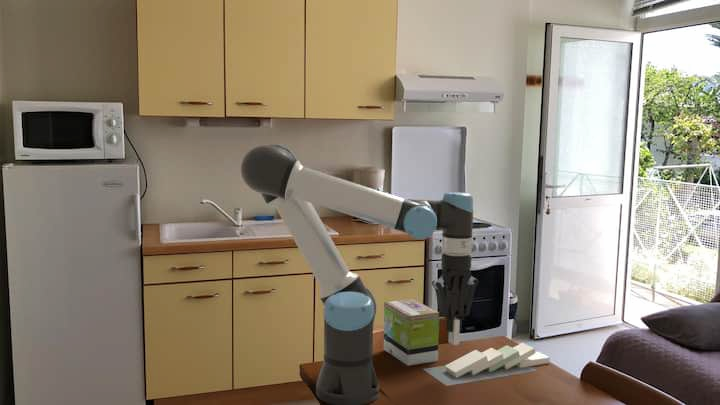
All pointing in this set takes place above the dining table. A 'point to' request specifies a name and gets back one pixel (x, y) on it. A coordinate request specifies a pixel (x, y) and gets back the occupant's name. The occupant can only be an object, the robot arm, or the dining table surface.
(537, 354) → the domino
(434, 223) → the robot arm
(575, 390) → the dining table surface
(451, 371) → the domino
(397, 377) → the dining table surface
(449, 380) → the slate mat
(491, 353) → the domino
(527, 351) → the domino
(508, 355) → the sage domino
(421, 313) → the tea box
